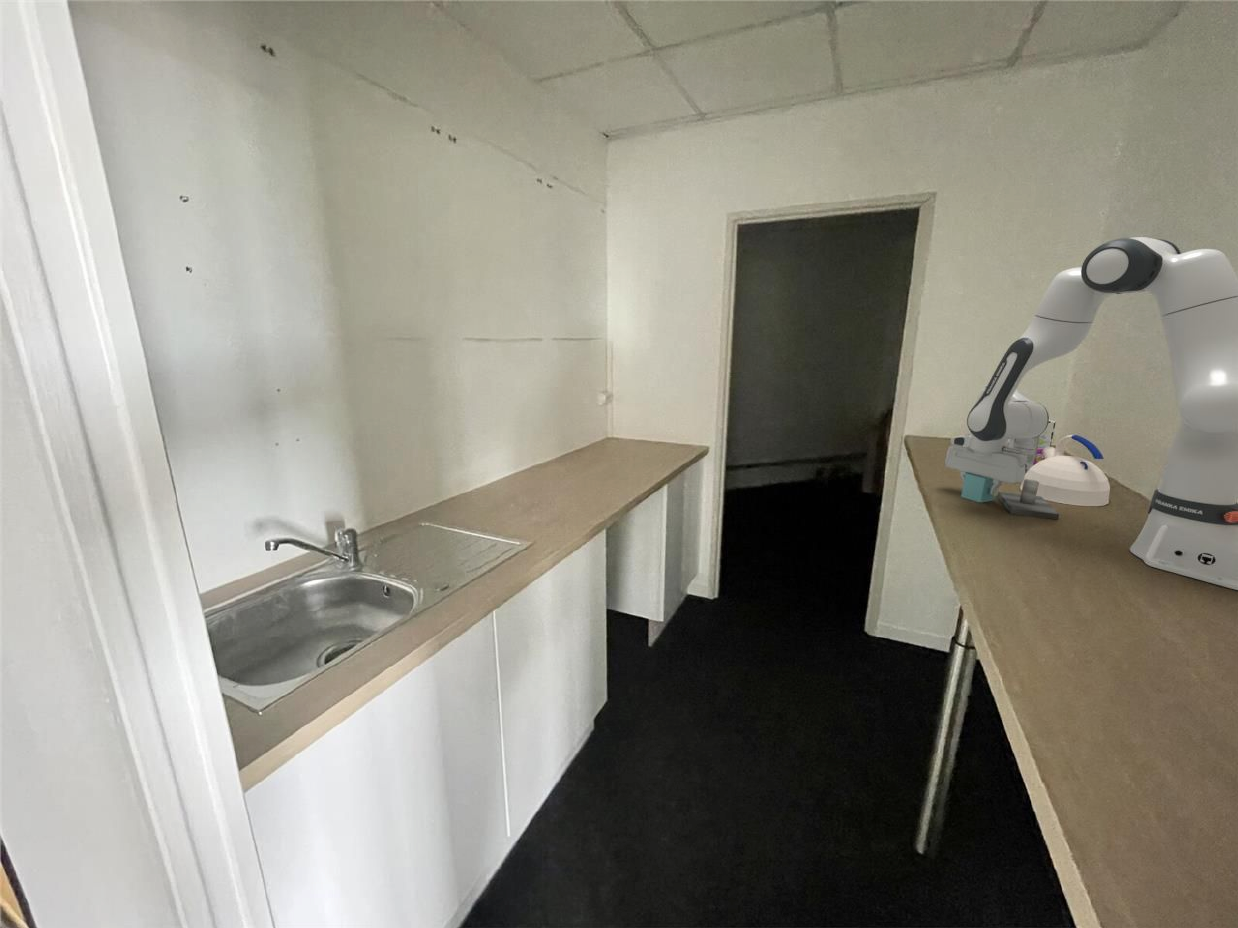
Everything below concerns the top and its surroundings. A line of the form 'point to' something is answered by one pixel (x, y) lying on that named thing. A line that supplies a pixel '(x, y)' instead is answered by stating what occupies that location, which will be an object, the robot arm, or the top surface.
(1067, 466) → the kettle
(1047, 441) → the candy bar box
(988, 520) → the top surface
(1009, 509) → the post stand
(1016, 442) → the coffee box
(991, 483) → the teal cube
